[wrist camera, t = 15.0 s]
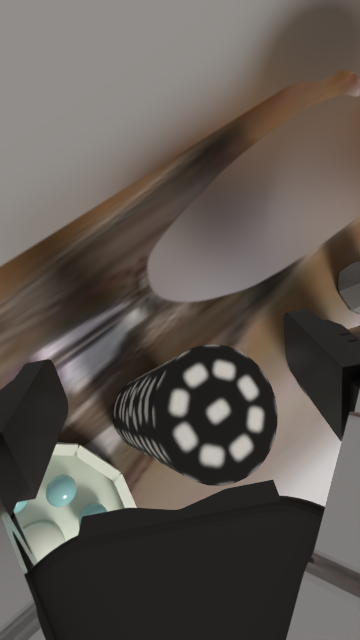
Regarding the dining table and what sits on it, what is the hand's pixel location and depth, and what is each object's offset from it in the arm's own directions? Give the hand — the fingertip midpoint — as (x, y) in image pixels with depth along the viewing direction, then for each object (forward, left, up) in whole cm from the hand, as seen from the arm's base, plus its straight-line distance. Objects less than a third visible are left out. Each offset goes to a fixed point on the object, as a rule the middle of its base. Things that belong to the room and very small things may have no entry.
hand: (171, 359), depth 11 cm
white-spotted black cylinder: (-5, +1, -29) cm, 29 cm away
